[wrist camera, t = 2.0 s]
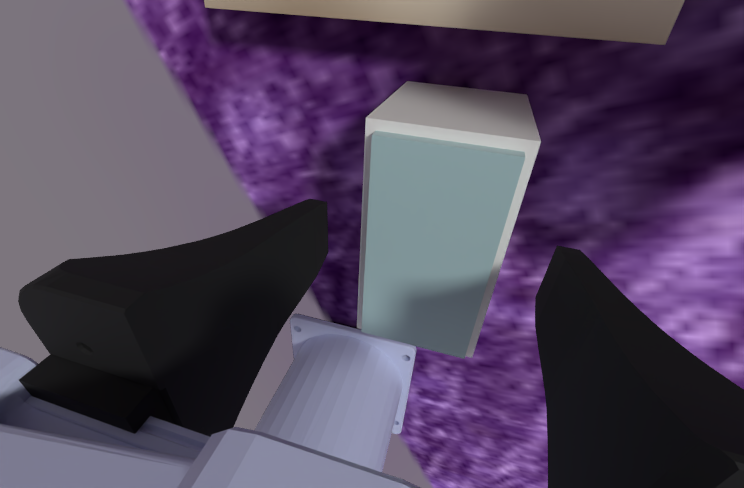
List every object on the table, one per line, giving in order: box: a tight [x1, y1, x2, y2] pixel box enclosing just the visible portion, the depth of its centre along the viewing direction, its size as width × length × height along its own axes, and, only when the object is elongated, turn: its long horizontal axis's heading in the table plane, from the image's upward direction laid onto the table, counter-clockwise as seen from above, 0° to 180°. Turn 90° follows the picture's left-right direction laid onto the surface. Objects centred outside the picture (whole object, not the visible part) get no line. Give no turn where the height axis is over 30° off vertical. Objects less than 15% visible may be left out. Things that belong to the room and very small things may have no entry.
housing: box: [357, 81, 541, 358], centre depth 14 cm, size 8×4×6 cm, turn 177°
